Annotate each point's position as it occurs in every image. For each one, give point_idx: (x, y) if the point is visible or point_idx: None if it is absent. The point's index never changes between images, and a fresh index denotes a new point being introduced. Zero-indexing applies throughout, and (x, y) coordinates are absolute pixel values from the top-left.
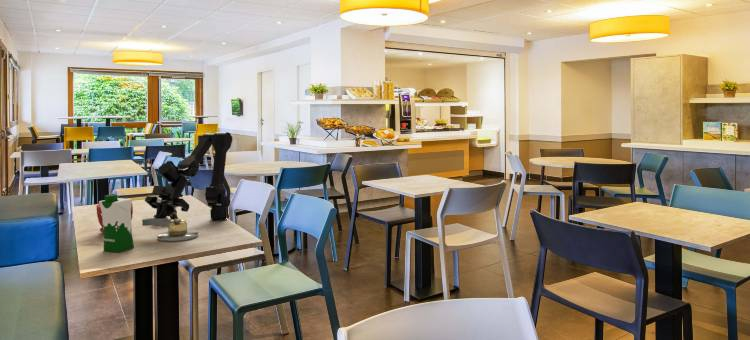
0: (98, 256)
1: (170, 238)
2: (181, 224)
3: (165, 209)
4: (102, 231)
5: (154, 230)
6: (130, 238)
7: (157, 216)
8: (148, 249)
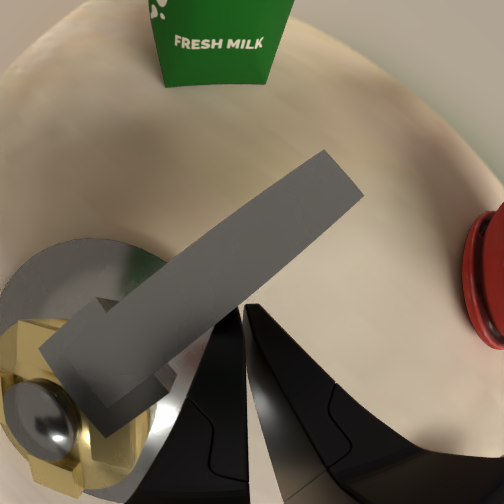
0: None
1: (55, 272)
2: None
3: (155, 498)
4: (495, 212)
5: (394, 424)
6: (152, 28)
7: (256, 346)
8: (77, 102)
